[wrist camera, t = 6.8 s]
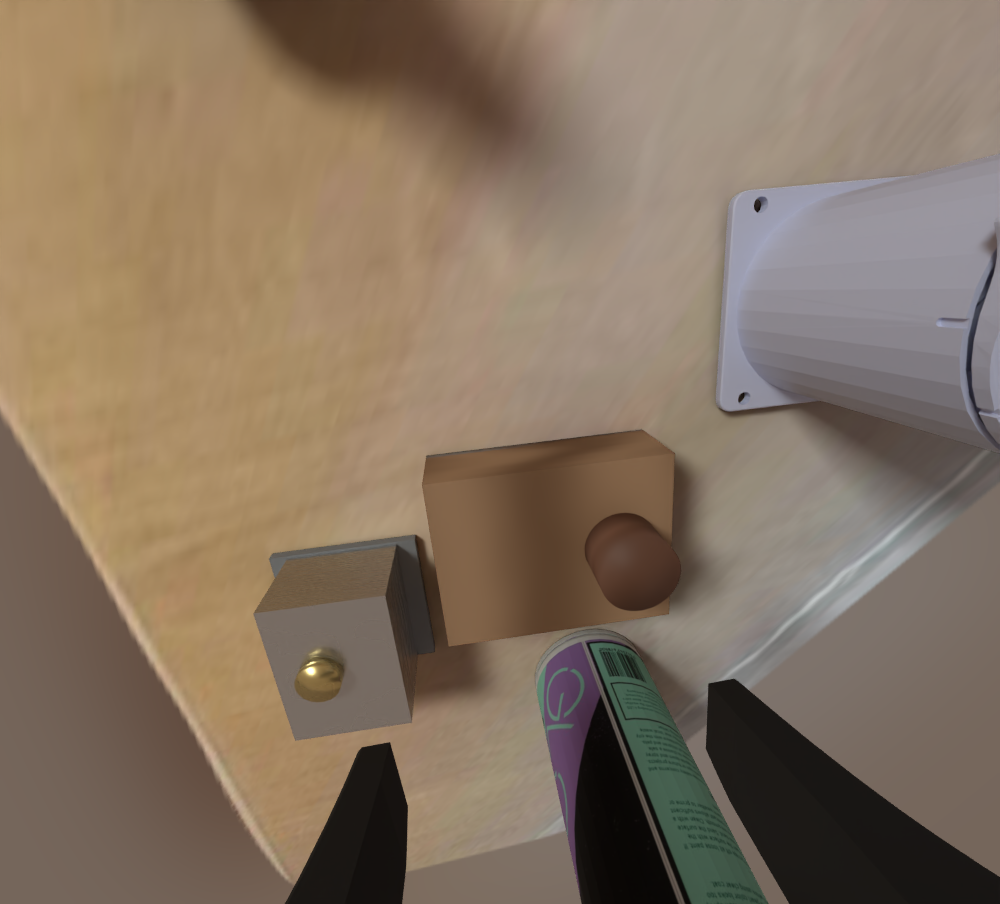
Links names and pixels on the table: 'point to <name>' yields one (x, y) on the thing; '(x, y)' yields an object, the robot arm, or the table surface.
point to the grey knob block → (341, 641)
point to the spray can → (632, 783)
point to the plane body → (552, 534)
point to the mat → (409, 573)
